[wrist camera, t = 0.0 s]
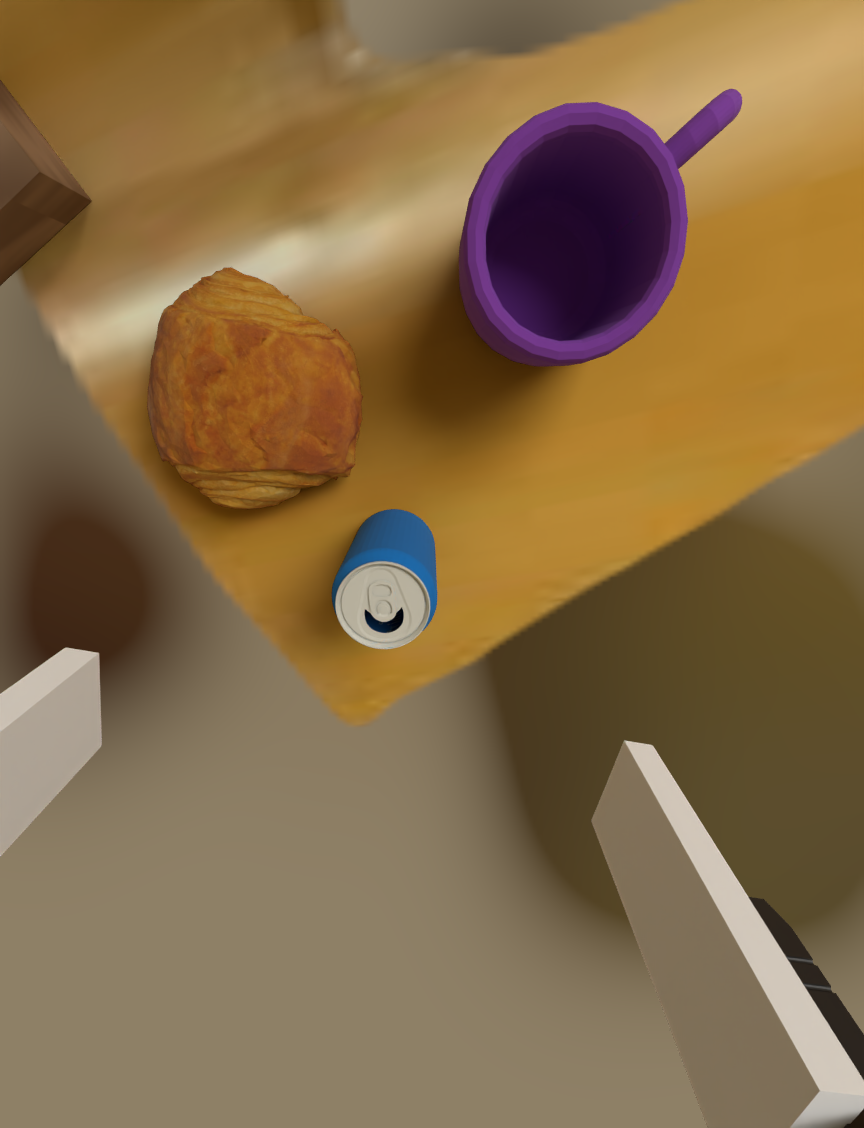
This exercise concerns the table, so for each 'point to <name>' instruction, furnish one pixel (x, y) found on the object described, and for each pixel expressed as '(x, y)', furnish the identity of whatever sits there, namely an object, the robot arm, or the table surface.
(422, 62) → the table surface
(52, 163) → the key block
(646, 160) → the mug
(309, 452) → the pastry
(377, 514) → the beverage can
